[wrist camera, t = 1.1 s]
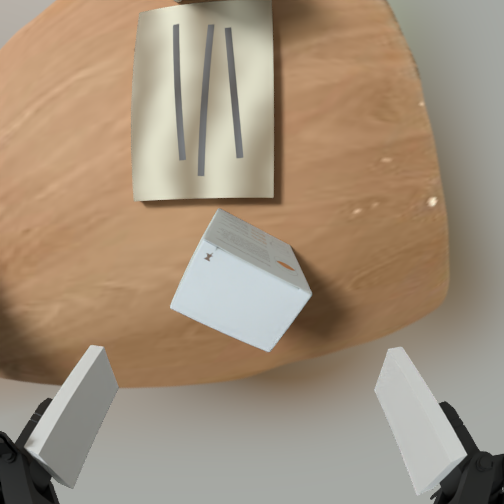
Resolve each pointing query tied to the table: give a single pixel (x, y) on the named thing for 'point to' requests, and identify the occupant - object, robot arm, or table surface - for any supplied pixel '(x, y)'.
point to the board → (203, 102)
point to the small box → (242, 283)
